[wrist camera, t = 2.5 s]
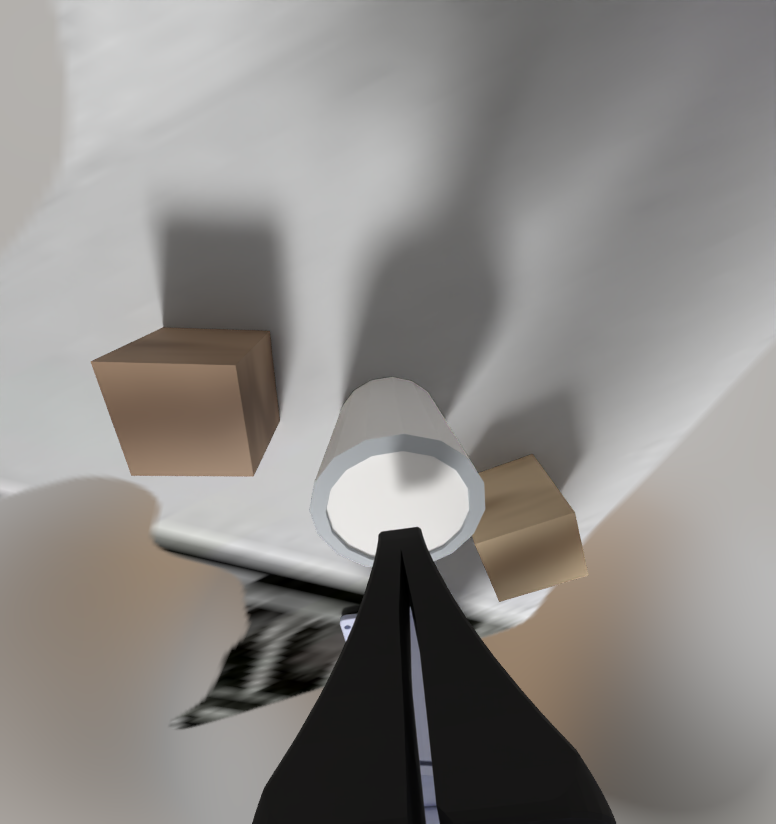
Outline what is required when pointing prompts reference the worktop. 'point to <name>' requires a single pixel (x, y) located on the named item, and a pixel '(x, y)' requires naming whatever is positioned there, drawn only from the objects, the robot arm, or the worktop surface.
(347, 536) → the white cup
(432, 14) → the worktop surface
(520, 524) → the oak block
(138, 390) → the walnut block
